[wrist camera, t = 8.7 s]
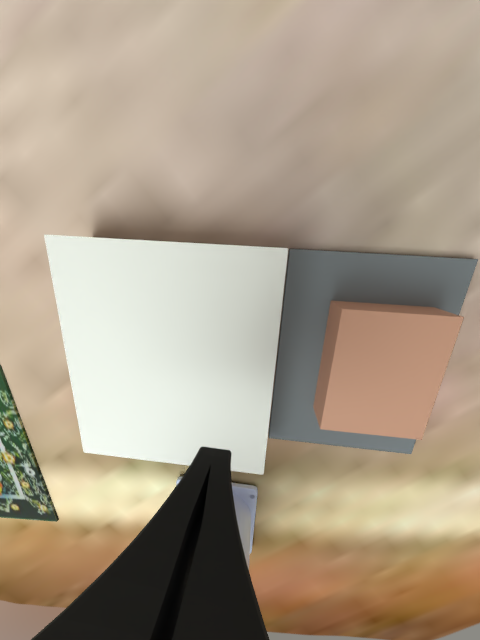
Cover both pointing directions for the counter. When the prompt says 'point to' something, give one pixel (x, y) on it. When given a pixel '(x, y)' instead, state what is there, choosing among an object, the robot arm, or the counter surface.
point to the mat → (311, 320)
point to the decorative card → (19, 467)
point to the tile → (383, 367)
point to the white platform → (170, 345)
